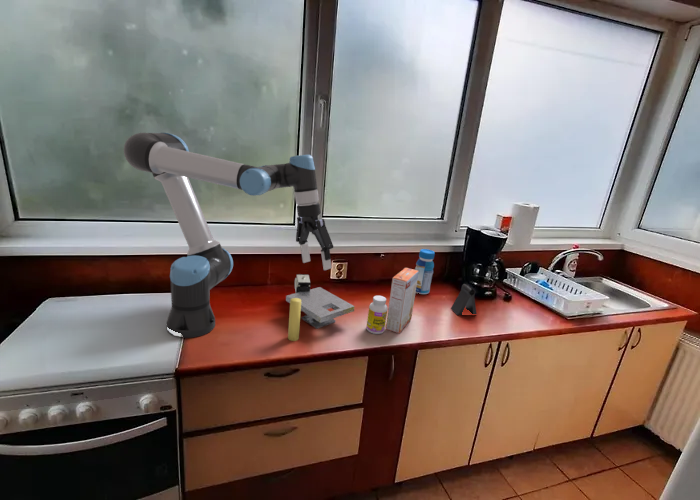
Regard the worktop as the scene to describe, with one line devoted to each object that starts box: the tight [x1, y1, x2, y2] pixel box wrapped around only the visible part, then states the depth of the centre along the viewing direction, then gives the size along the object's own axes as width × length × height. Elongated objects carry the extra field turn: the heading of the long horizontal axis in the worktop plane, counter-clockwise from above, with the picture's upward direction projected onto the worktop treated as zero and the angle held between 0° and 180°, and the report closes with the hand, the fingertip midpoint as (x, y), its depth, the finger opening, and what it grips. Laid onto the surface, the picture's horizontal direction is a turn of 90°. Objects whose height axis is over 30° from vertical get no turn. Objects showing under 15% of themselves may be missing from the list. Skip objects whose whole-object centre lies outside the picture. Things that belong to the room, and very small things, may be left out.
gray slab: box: [285, 286, 355, 330], centre depth 140 cm, size 16×20×8 cm
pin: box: [287, 298, 302, 342], centre depth 125 cm, size 4×4×14 cm
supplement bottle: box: [366, 295, 389, 335], centre depth 137 cm, size 7×7×13 cm
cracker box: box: [385, 267, 419, 334], centre depth 142 cm, size 14×6×21 cm, turn 152°
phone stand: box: [450, 283, 478, 316], centre depth 160 cm, size 9×6×12 cm, turn 103°
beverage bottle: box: [414, 248, 436, 295], centre depth 176 cm, size 8×8×20 cm
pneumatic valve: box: [294, 273, 311, 293], centre depth 151 cm, size 6×12×12 cm, turn 12°
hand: (316, 265), depth 129 cm, fingers open, 13 cm apart
